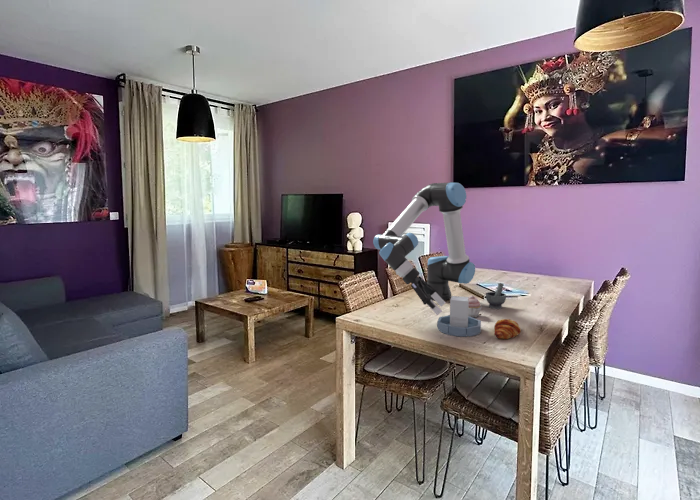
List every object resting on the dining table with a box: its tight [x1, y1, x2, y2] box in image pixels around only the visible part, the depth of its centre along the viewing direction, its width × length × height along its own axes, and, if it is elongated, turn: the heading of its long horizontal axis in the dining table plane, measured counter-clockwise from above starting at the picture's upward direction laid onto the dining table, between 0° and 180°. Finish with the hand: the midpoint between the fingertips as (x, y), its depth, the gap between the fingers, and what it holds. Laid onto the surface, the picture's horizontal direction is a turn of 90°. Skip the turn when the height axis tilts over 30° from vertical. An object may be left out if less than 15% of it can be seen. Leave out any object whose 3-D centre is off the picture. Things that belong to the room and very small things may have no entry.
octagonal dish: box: [436, 314, 482, 338], centre depth 170 cm, size 18×18×4 cm
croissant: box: [493, 318, 521, 340], centre depth 164 cm, size 21×10×8 cm, turn 140°
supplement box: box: [449, 295, 470, 328], centre depth 170 cm, size 7×7×13 cm
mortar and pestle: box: [485, 282, 507, 310], centre depth 203 cm, size 11×9×12 cm
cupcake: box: [468, 295, 483, 318], centre depth 189 cm, size 9×9×10 cm
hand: (441, 308), depth 172 cm, fingers open, 13 cm apart
